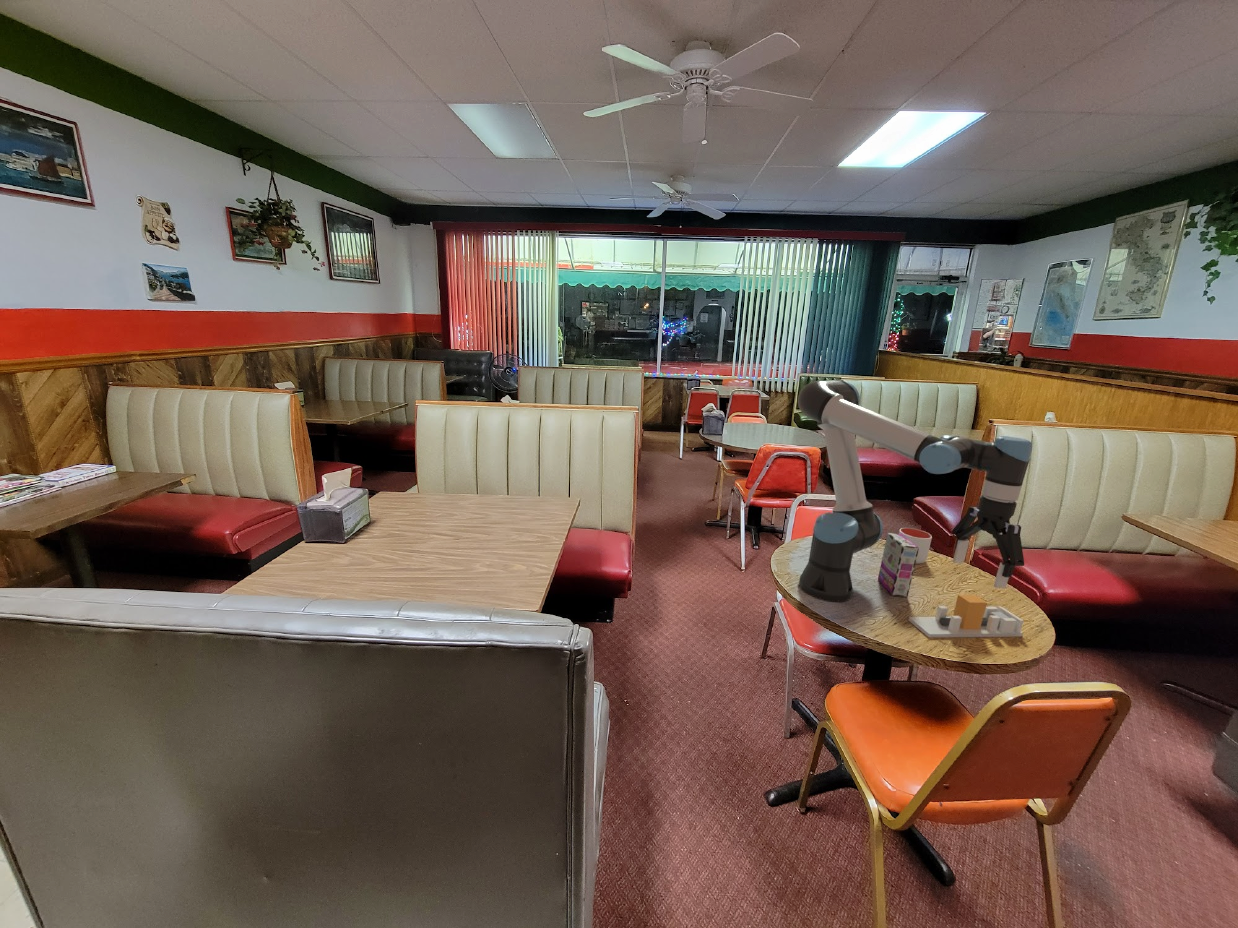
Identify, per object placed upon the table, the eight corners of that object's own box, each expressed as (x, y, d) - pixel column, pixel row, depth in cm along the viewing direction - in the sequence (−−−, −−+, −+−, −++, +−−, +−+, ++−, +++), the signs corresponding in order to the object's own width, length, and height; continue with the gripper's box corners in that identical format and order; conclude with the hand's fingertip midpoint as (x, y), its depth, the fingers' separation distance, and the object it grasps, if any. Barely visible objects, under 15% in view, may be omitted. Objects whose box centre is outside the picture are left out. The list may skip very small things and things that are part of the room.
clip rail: (928, 637, 128) (932, 620, 126) (908, 620, 135) (912, 604, 134) (1022, 636, 130) (1027, 619, 129) (997, 619, 138) (1001, 603, 137)
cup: (927, 567, 169) (933, 541, 167) (895, 560, 173) (900, 534, 171) (924, 556, 178) (930, 531, 176) (893, 550, 182) (898, 525, 180)
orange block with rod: (947, 629, 130) (954, 602, 128) (936, 620, 134) (942, 594, 132) (1008, 628, 132) (1016, 602, 130) (996, 620, 136) (1003, 594, 134)
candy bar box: (909, 597, 148) (920, 547, 144) (891, 596, 148) (902, 546, 144) (893, 580, 158) (903, 533, 154) (877, 578, 159) (886, 531, 155)
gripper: (1059, 516, 112) (1033, 598, 117) (973, 483, 136) (955, 553, 141) (1029, 515, 111) (1005, 598, 116) (948, 482, 135) (931, 553, 140)
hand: (977, 574), depth 129 cm, fingers open, 13 cm apart
